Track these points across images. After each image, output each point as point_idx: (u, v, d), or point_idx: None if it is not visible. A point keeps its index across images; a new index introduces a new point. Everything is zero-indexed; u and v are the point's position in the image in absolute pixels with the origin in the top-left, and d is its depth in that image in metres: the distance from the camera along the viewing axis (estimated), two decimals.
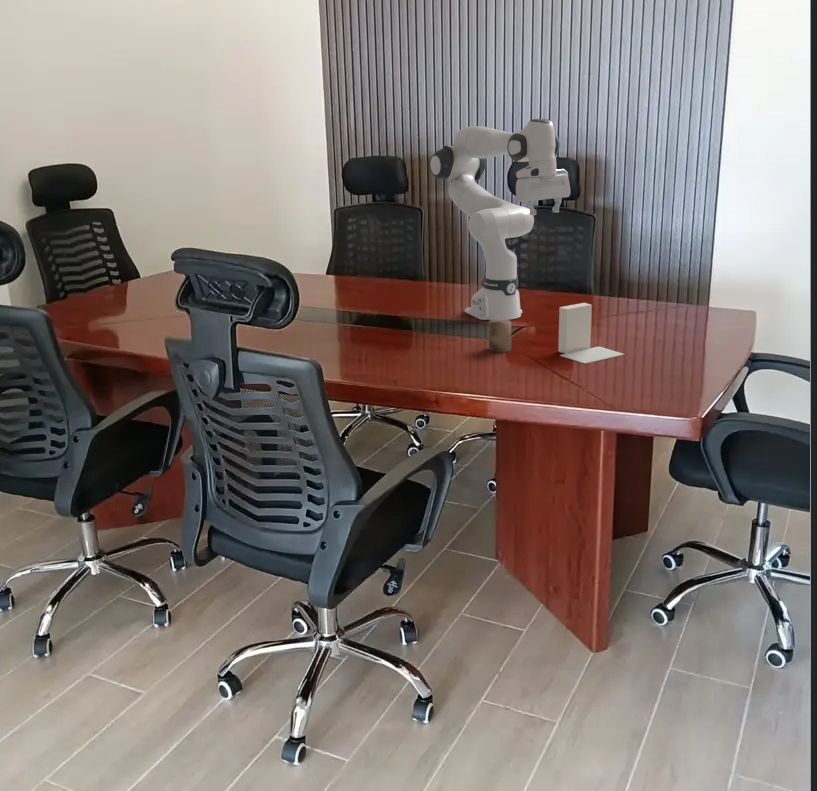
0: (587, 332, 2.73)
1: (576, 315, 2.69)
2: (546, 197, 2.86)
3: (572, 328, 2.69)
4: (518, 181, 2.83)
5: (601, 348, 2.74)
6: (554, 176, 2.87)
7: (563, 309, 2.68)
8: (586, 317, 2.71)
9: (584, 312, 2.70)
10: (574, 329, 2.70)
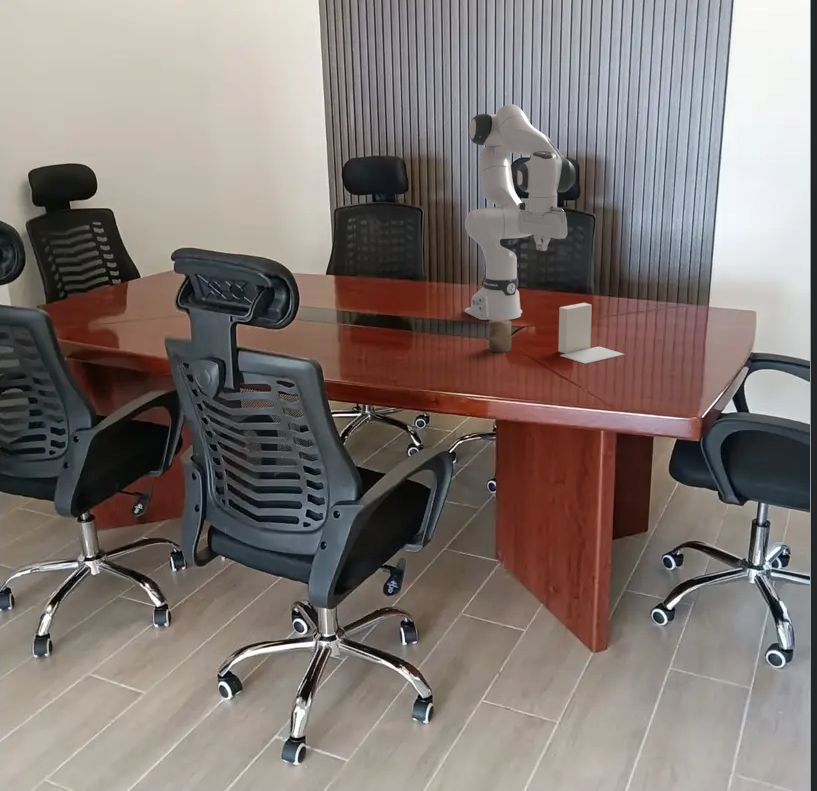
0: (587, 332, 2.73)
1: (576, 315, 2.69)
2: (536, 233, 2.76)
3: (572, 328, 2.69)
4: None
5: (601, 348, 2.74)
6: (545, 214, 2.71)
7: (563, 309, 2.68)
8: (586, 317, 2.71)
9: (584, 312, 2.70)
10: (574, 329, 2.70)
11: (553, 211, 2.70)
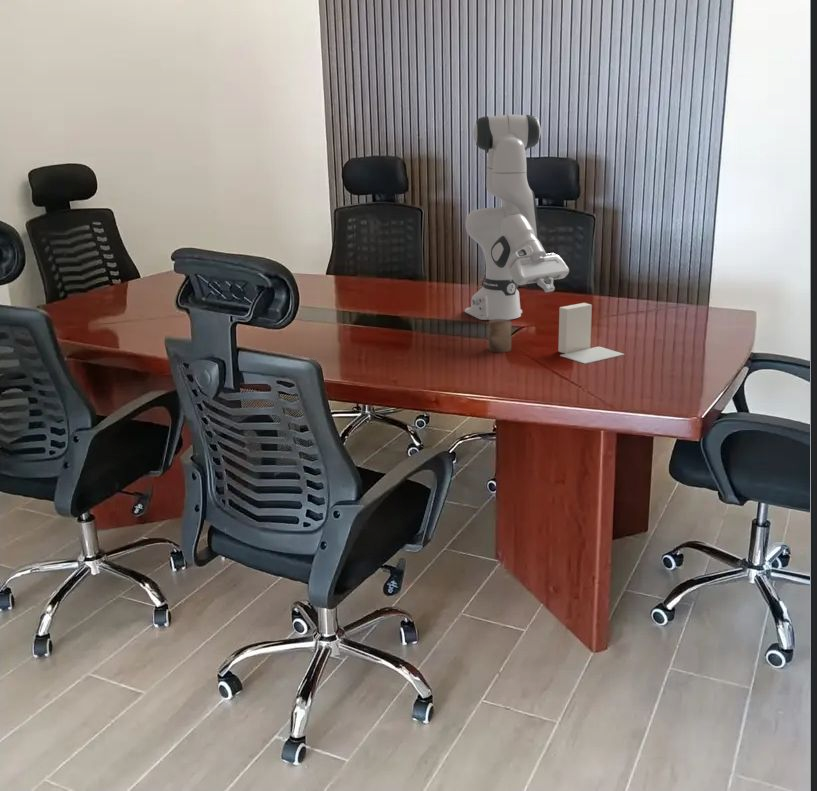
0: (587, 332, 2.73)
1: (576, 315, 2.69)
2: (544, 274, 2.78)
3: (572, 328, 2.69)
4: (510, 268, 2.79)
5: (601, 348, 2.74)
6: (545, 257, 2.83)
7: (563, 309, 2.68)
8: (586, 317, 2.71)
9: (584, 312, 2.70)
10: (574, 329, 2.70)
11: (547, 256, 2.85)
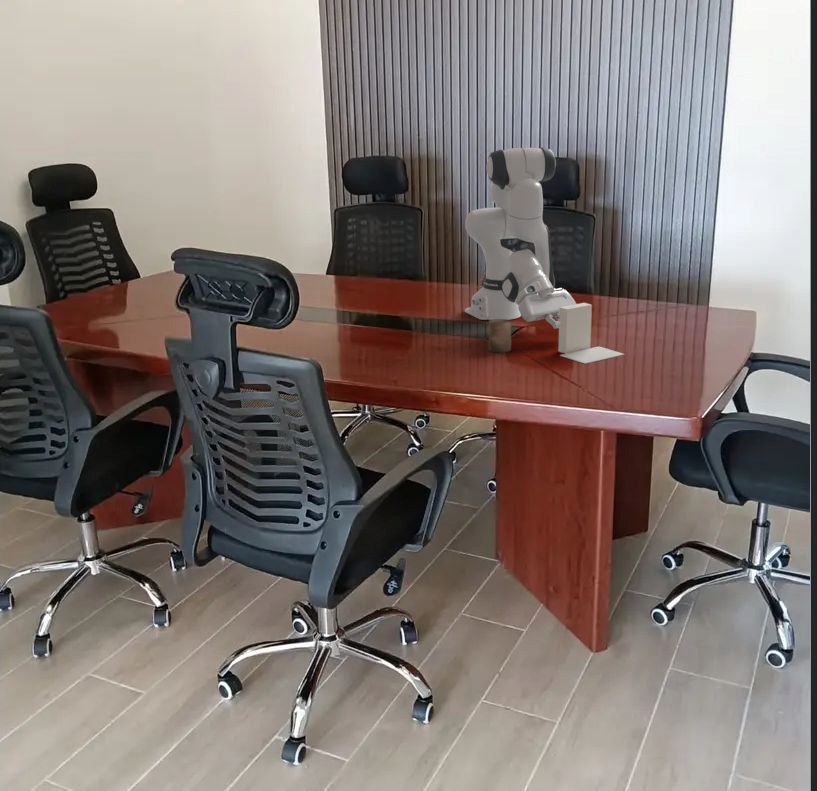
0: (587, 332, 2.73)
1: (576, 315, 2.69)
2: (553, 310, 2.79)
3: (572, 328, 2.69)
4: (519, 304, 2.79)
5: (601, 348, 2.74)
6: (553, 292, 2.83)
7: (563, 309, 2.68)
8: (586, 317, 2.71)
9: (584, 312, 2.70)
10: (574, 329, 2.70)
11: (555, 291, 2.85)
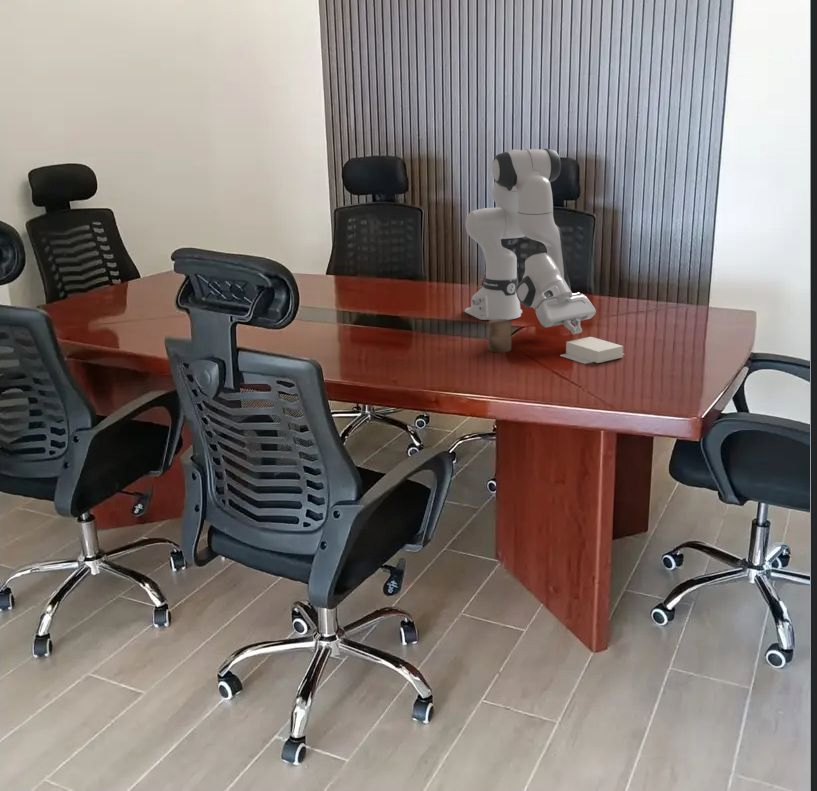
0: None
1: None
2: (571, 315, 2.72)
3: None
4: (537, 309, 2.72)
5: None
6: (571, 297, 2.76)
7: (597, 357, 2.59)
8: None
9: None
10: None
11: None
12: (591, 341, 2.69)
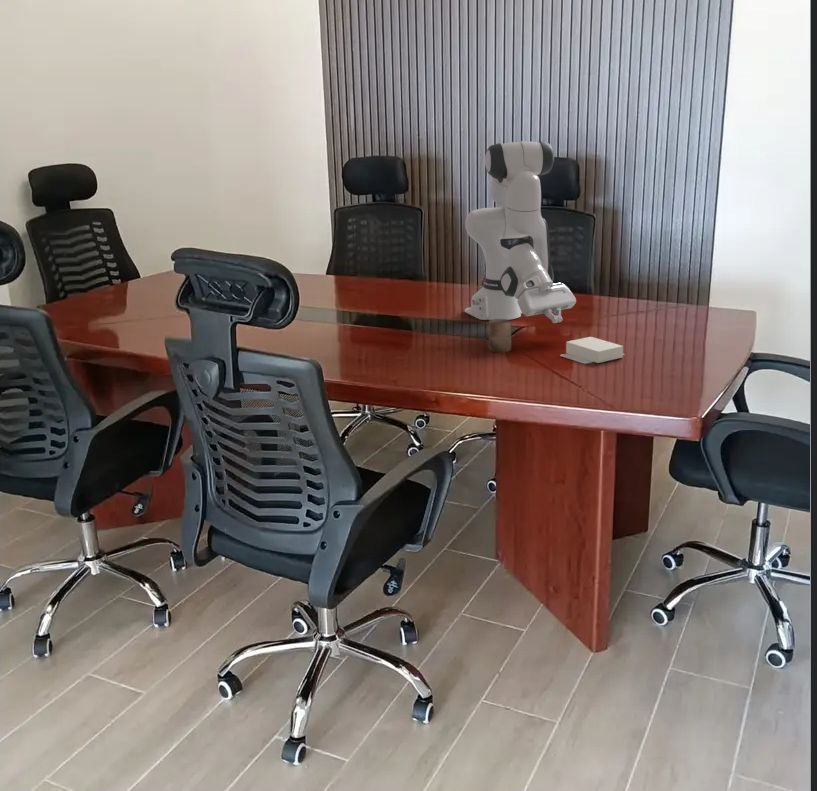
0: None
1: None
2: (552, 305, 2.79)
3: None
4: (518, 299, 2.79)
5: None
6: (552, 287, 2.83)
7: (597, 357, 2.59)
8: None
9: None
10: None
11: (554, 286, 2.85)
12: (591, 341, 2.69)
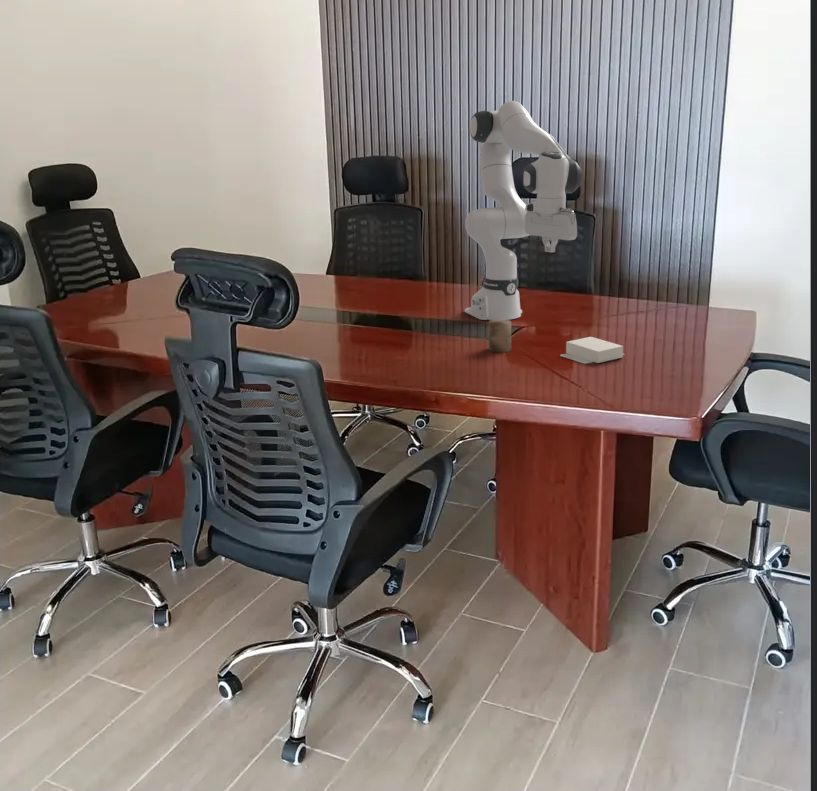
0: None
1: None
2: (545, 235, 2.72)
3: None
4: None
5: None
6: (554, 215, 2.67)
7: (597, 357, 2.59)
8: None
9: None
10: None
11: (562, 212, 2.66)
12: (591, 341, 2.69)
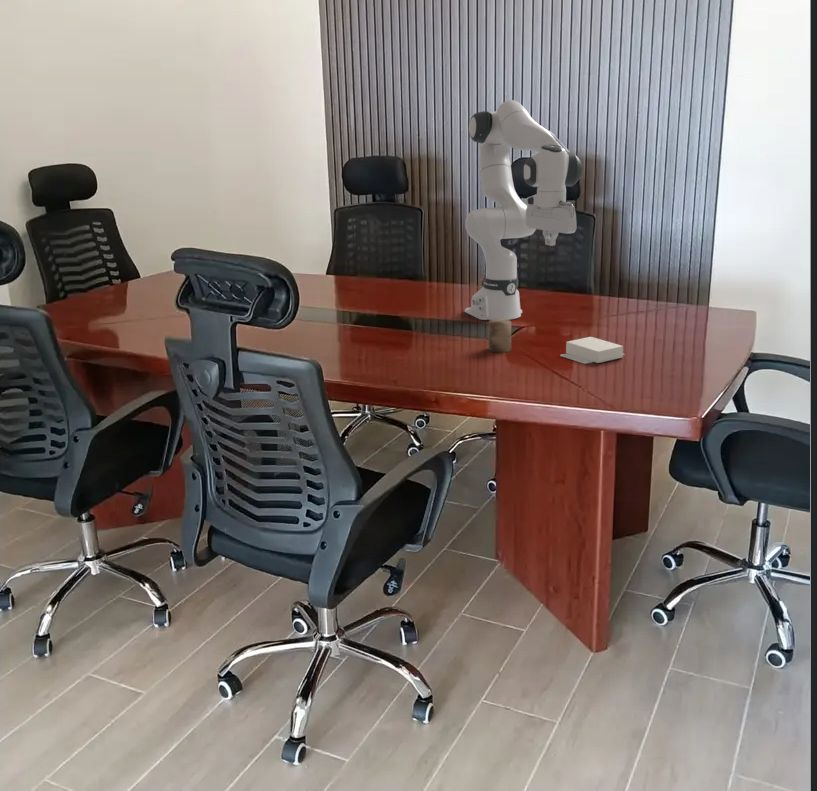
0: None
1: None
2: (545, 228, 2.72)
3: None
4: None
5: None
6: (554, 208, 2.67)
7: (597, 357, 2.59)
8: None
9: None
10: None
11: (562, 205, 2.66)
12: (591, 341, 2.69)
